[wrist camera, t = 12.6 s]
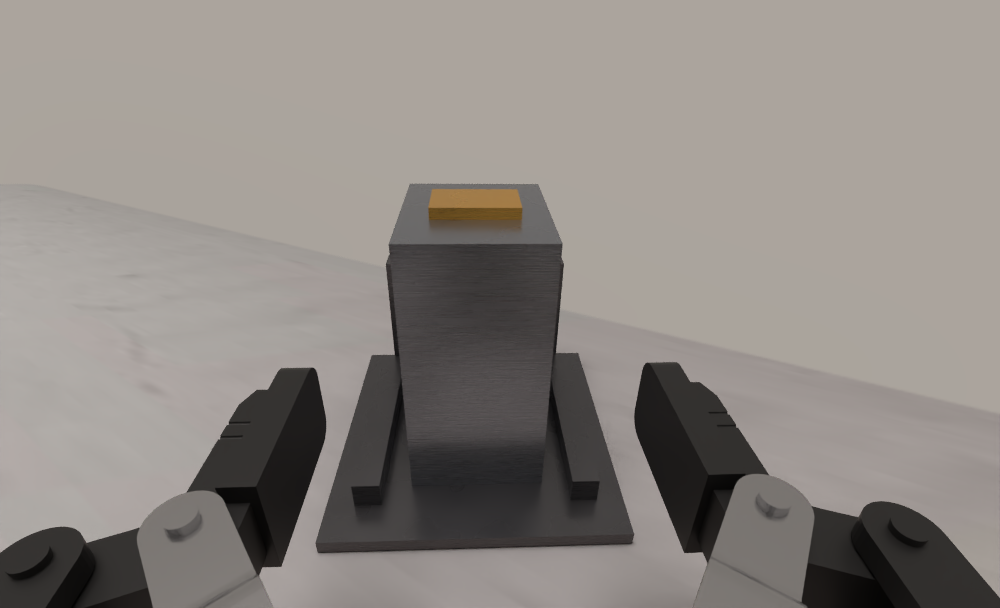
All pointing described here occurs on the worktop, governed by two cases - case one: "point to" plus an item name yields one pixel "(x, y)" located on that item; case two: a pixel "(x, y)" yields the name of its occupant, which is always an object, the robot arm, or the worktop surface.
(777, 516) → the robot arm
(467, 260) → the metal block with pad
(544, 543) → the bracket
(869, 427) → the worktop surface
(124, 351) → the worktop surface
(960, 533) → the worktop surface
